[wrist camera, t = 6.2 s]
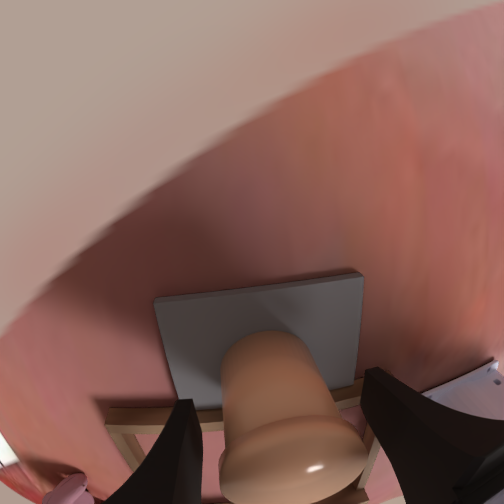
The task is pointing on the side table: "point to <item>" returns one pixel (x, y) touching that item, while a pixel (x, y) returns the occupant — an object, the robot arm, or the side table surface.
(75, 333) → the side table surface
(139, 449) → the frame
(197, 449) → the robot arm
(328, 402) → the beige peg
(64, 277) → the side table surface
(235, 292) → the rubber mat
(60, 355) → the side table surface
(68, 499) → the video game controller
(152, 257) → the side table surface
